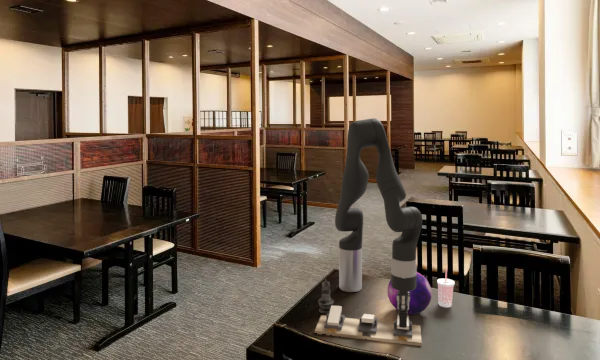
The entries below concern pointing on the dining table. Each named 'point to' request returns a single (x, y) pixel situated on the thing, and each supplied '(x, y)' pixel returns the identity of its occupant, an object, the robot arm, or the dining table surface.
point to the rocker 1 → (334, 315)
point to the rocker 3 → (401, 327)
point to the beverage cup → (445, 291)
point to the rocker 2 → (368, 318)
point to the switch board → (370, 330)
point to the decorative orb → (414, 295)
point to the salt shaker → (325, 298)
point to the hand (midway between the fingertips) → (402, 326)
